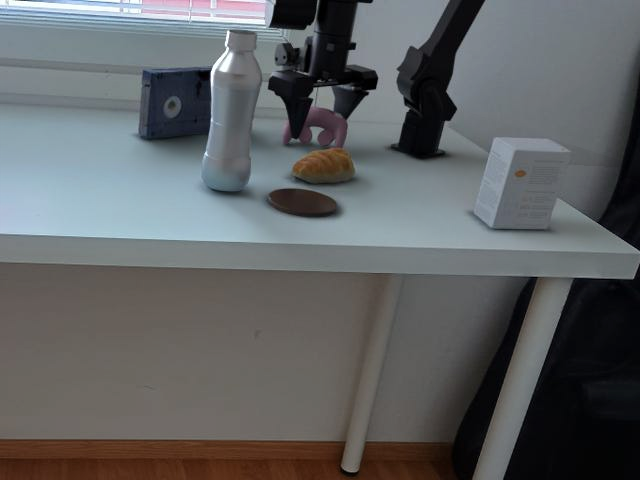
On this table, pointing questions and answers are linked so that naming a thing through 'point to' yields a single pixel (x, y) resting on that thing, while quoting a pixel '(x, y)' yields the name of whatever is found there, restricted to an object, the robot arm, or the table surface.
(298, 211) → the walnut coaster
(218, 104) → the plastic bottle
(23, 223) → the table surface
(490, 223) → the small box
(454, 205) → the table surface
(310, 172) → the pastry
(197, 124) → the vhs cassette tape
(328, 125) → the video game controller
